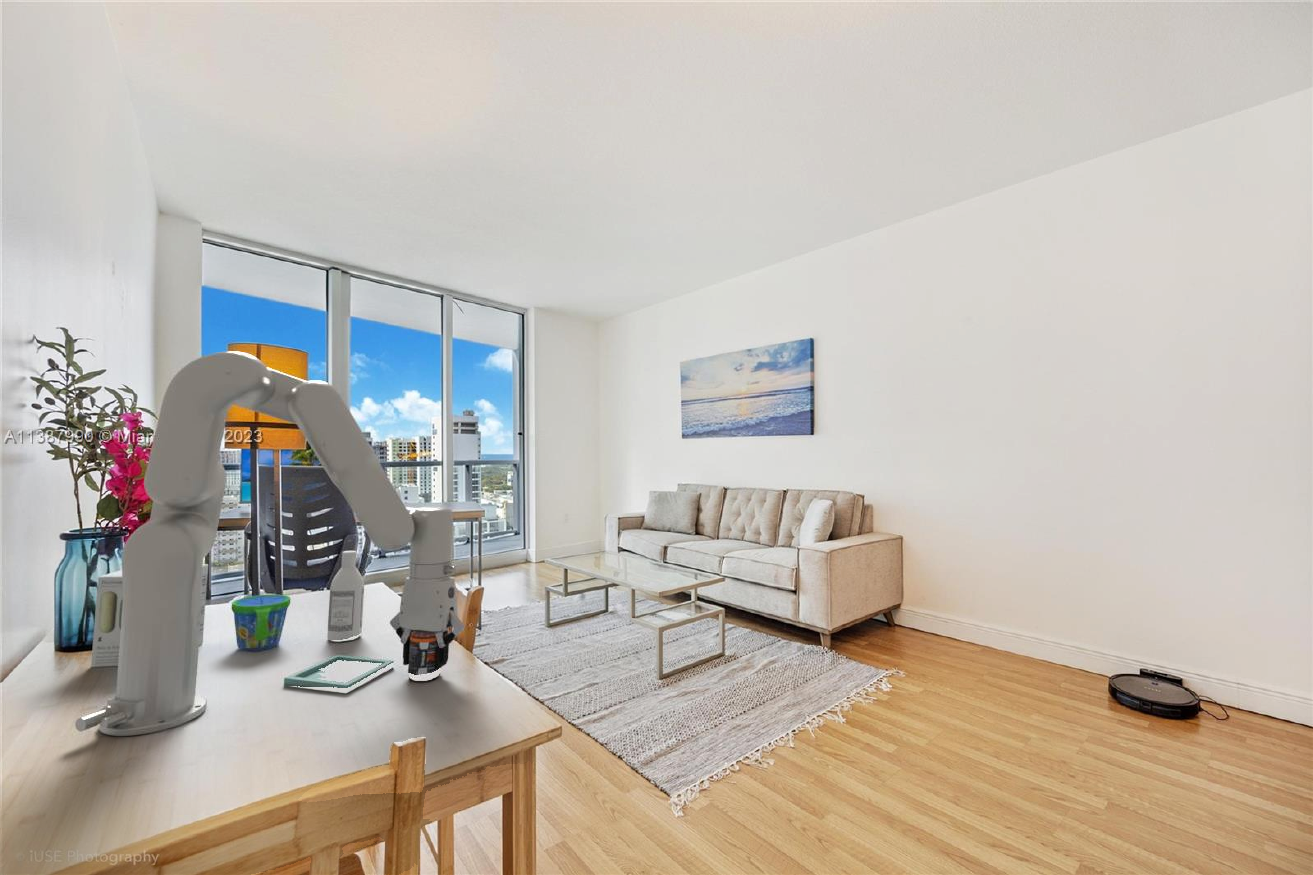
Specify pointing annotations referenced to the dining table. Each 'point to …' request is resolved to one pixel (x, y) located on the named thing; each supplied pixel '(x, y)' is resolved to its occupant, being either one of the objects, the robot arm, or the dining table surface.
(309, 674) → the tray
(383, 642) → the dining table surface
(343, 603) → the bath foam
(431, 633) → the supplement bottle
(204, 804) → the dining table surface
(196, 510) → the robot arm
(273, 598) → the snack cup
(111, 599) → the supplement box
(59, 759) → the dining table surface
